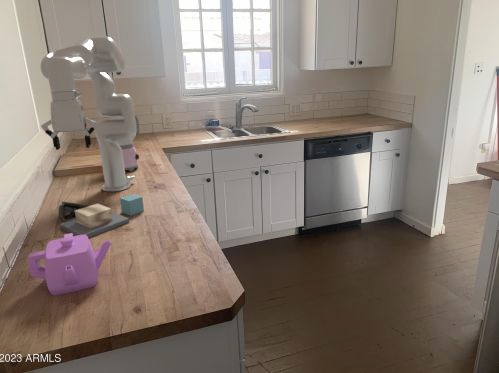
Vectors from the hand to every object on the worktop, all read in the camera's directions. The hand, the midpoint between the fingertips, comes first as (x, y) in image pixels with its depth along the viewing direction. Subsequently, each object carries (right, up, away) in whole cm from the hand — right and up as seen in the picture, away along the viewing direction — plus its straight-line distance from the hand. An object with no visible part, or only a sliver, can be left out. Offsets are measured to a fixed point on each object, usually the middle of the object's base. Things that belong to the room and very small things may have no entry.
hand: (73, 148), depth 134 cm
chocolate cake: (-8, -25, +19) cm, 32 cm away
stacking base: (+4, -27, +9) cm, 29 cm away
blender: (-5, -4, +79) cm, 80 cm away
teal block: (+14, -23, +21) cm, 34 cm away
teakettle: (+12, -39, -26) cm, 48 cm away
